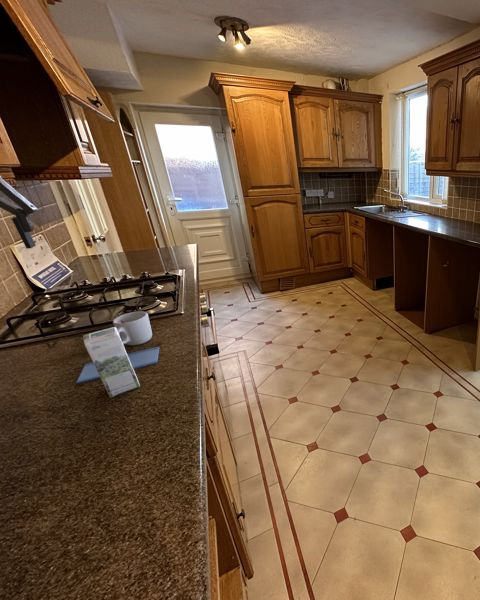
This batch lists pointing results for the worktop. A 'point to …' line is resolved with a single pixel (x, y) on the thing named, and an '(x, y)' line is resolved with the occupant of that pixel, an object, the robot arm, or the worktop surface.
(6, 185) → the robot arm
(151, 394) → the worktop surface
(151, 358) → the cloth
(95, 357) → the syrup box
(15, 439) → the worktop surface
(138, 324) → the cup
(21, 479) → the worktop surface
